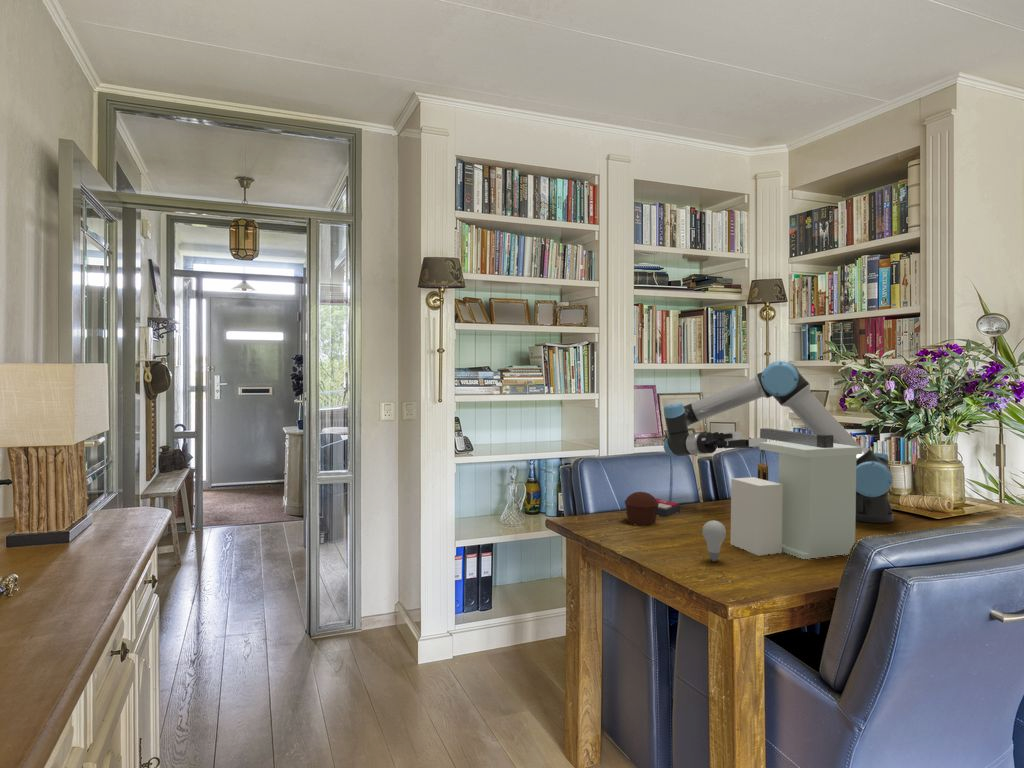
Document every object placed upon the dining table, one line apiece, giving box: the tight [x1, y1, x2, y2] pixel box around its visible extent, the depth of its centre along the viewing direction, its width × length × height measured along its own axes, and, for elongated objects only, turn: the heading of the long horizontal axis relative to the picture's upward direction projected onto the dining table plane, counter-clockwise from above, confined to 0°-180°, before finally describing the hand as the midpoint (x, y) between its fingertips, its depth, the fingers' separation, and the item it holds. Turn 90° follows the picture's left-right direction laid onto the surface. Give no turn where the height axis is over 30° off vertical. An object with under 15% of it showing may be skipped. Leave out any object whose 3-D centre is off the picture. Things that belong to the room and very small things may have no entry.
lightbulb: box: [701, 519, 727, 562], centre depth 172 cm, size 6×6×11 cm
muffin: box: [624, 491, 659, 526], centre depth 215 cm, size 12×11×10 cm
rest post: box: [730, 476, 783, 557], centre depth 184 cm, size 12×8×20 cm, turn 18°
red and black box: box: [655, 498, 681, 518], centre depth 232 cm, size 11×4×15 cm
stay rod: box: [759, 427, 833, 448], centre depth 190 cm, size 26×3×3 cm, turn 18°
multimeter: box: [757, 449, 769, 481], centre depth 257 cm, size 15×10×20 cm
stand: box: [758, 441, 863, 560], centre depth 184 cm, size 18×20×30 cm
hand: (754, 438), depth 213 cm, fingers open, 13 cm apart
